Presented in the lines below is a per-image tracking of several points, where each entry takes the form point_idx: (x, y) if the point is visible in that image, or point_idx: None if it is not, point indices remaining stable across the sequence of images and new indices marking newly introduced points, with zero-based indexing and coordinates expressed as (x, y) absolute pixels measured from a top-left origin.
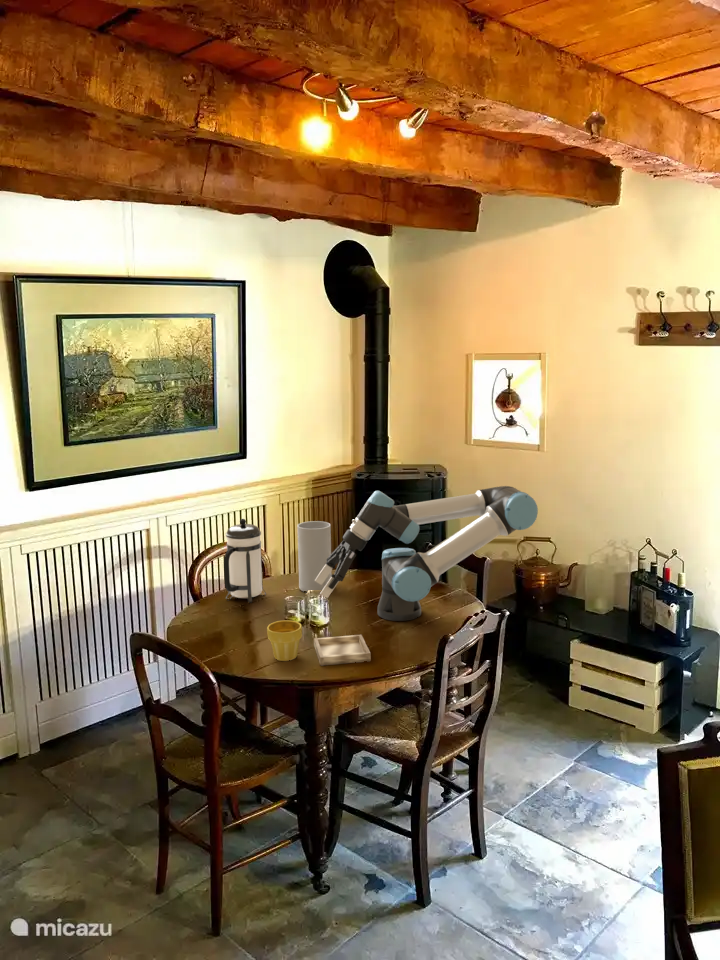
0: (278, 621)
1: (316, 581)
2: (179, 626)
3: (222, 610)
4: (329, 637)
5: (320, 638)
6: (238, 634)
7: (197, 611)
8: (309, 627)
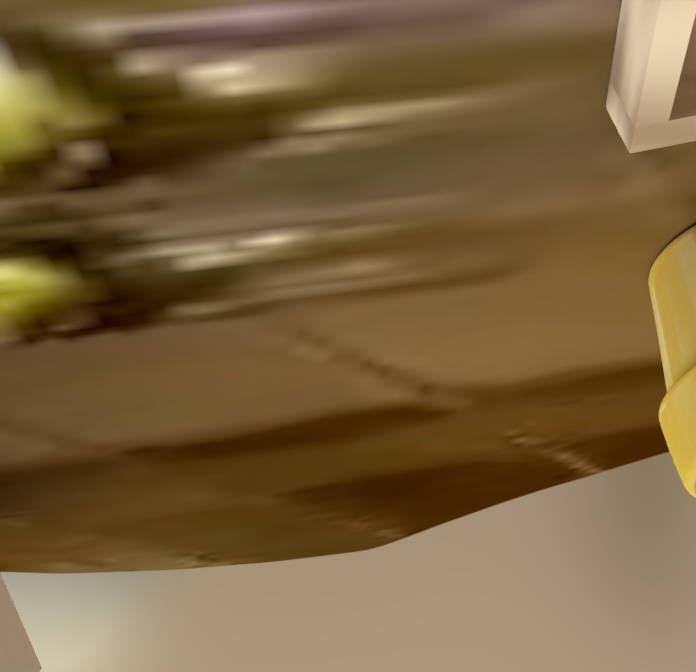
0: (694, 487)
1: (28, 649)
2: (247, 561)
3: (26, 528)
4: (669, 2)
5: (656, 96)
6: (323, 453)
7: (76, 562)
8: (151, 188)
